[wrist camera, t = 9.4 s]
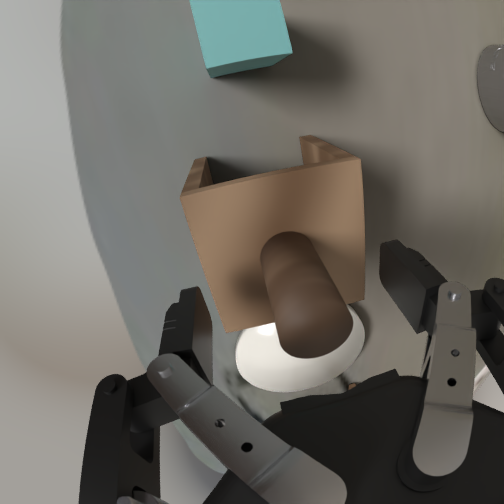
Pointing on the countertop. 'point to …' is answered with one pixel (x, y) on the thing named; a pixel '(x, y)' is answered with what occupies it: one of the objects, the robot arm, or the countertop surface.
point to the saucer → (292, 359)
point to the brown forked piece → (284, 246)
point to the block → (240, 34)
